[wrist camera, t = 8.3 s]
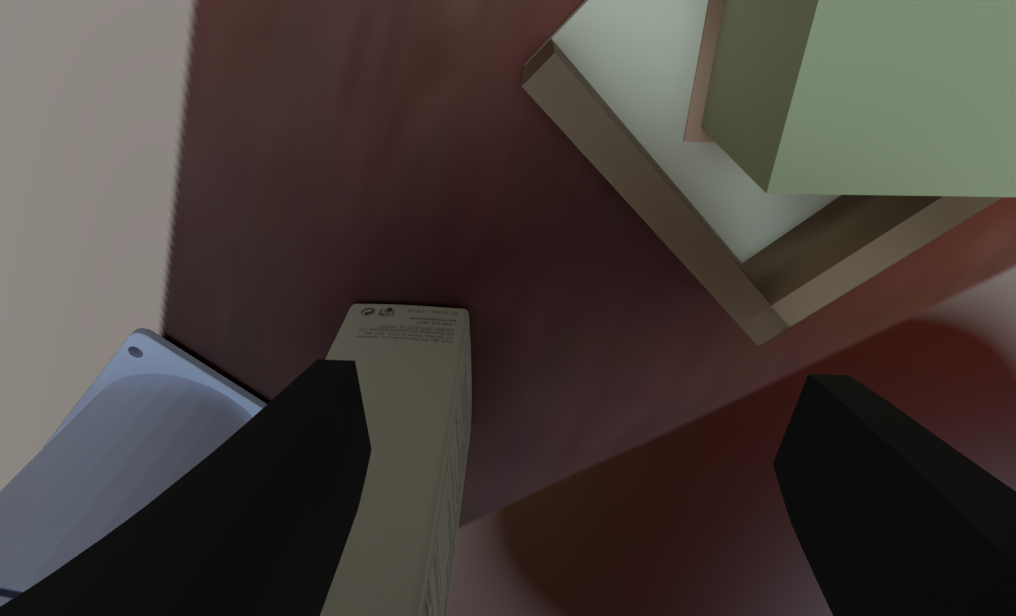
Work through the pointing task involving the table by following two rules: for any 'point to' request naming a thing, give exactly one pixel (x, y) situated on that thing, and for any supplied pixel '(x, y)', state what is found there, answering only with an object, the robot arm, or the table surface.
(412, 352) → the skincare box
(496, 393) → the table surface
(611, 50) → the arena
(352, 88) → the table surface
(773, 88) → the olive cube
